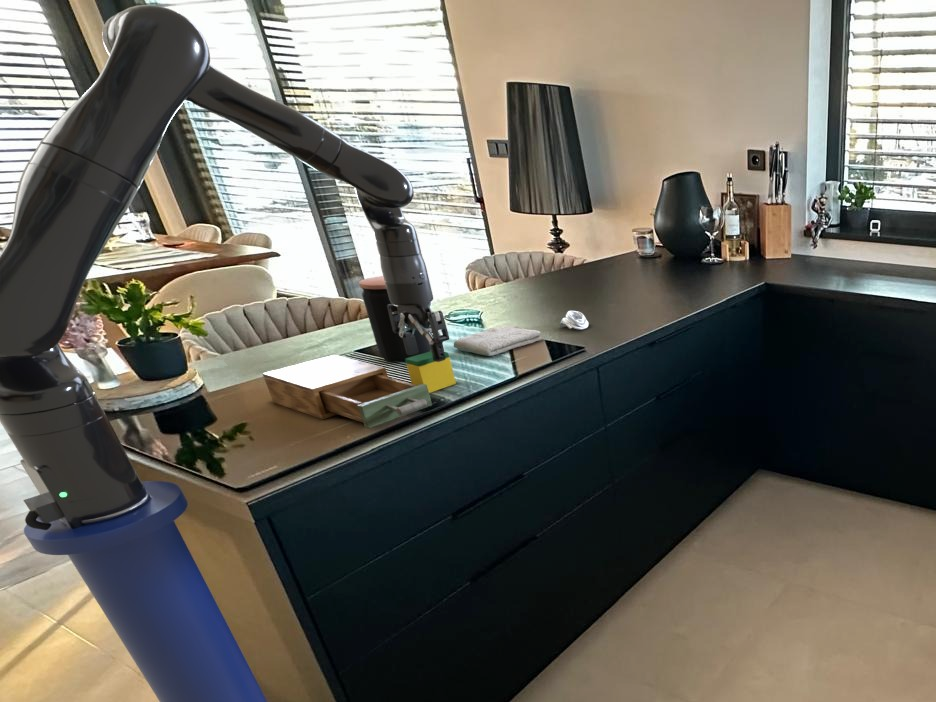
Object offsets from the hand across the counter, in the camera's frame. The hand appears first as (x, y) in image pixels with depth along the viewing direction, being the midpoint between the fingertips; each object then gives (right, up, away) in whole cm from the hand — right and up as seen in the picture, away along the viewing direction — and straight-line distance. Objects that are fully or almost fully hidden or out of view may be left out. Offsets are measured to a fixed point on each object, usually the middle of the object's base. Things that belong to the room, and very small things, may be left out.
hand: (426, 357), depth 129 cm
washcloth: (+1, +7, +30) cm, 30 cm away
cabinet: (-16, -9, -4) cm, 19 cm away
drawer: (-2, -12, -10) cm, 16 cm away
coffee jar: (-17, +3, +21) cm, 27 cm away
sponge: (0, -6, +3) cm, 7 cm away
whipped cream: (+15, +15, +46) cm, 50 cm away
